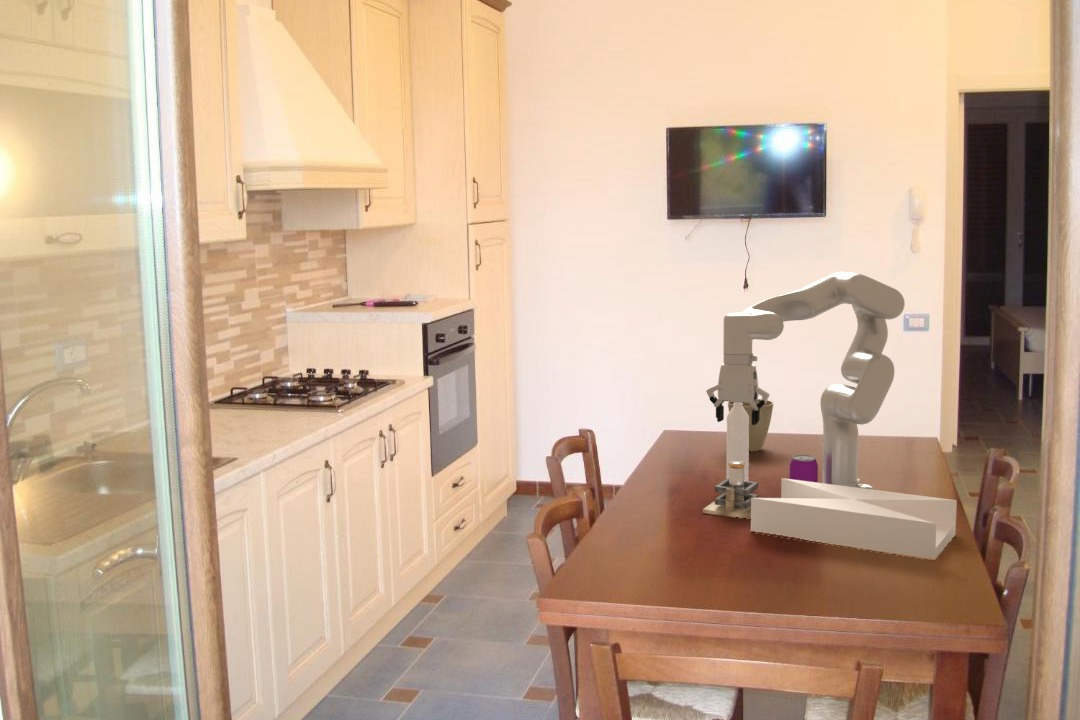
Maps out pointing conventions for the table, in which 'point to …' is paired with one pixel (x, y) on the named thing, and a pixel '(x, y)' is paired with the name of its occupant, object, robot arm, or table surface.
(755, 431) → the plant pot
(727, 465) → the water bottle
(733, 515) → the collar stand
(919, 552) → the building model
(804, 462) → the beverage can
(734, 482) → the steel tube
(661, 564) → the table surface
